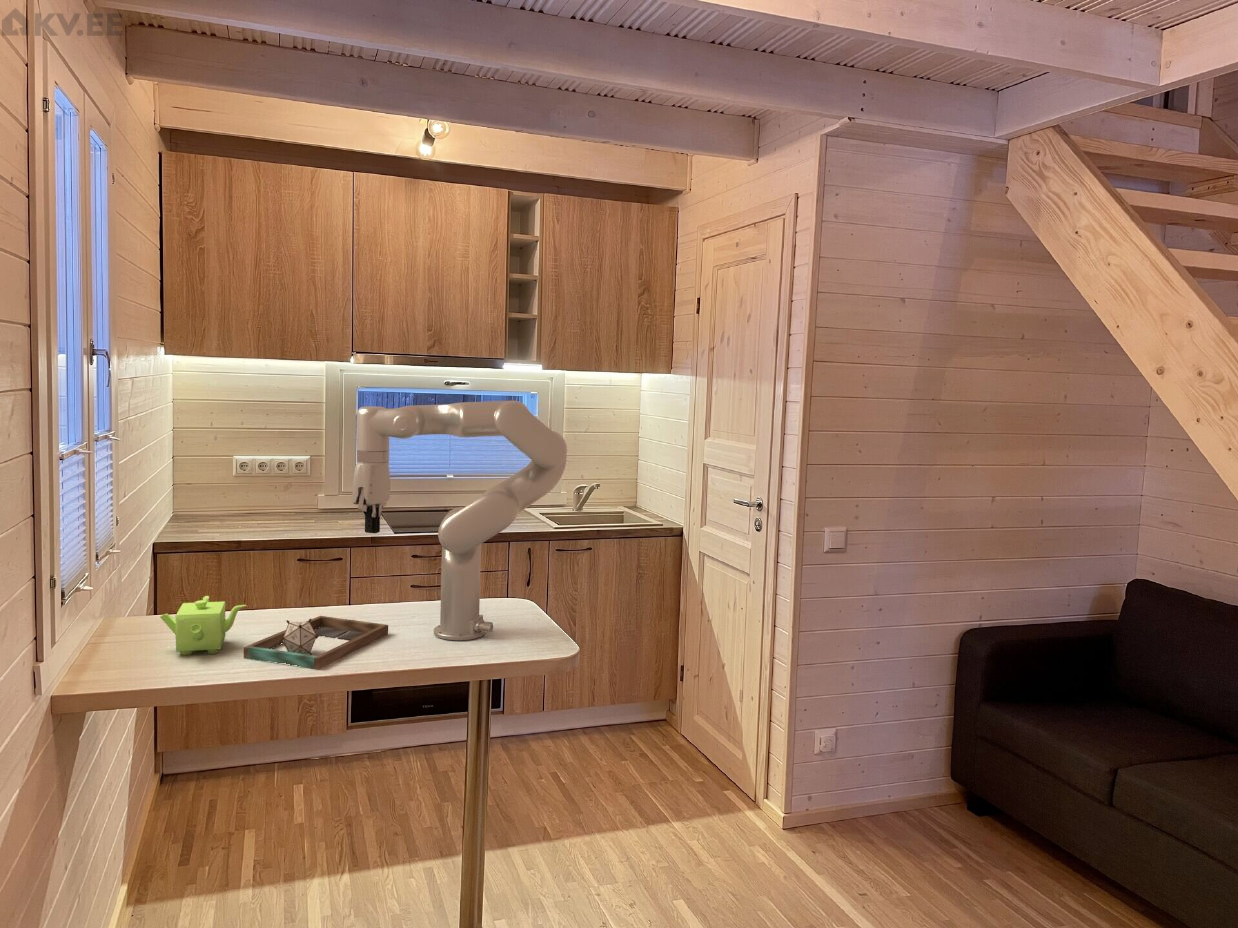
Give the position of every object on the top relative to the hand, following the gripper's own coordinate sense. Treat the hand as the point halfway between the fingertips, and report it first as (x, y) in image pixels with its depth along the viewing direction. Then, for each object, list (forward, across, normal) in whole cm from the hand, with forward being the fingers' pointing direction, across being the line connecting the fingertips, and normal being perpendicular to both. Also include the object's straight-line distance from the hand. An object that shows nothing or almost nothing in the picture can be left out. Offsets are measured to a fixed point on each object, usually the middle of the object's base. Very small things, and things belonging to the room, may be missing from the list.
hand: (372, 532), depth 222 cm
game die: (+25, +21, -5) cm, 34 cm away
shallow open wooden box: (+25, +14, -5) cm, 29 cm away
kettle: (+25, +26, -27) cm, 45 cm away
